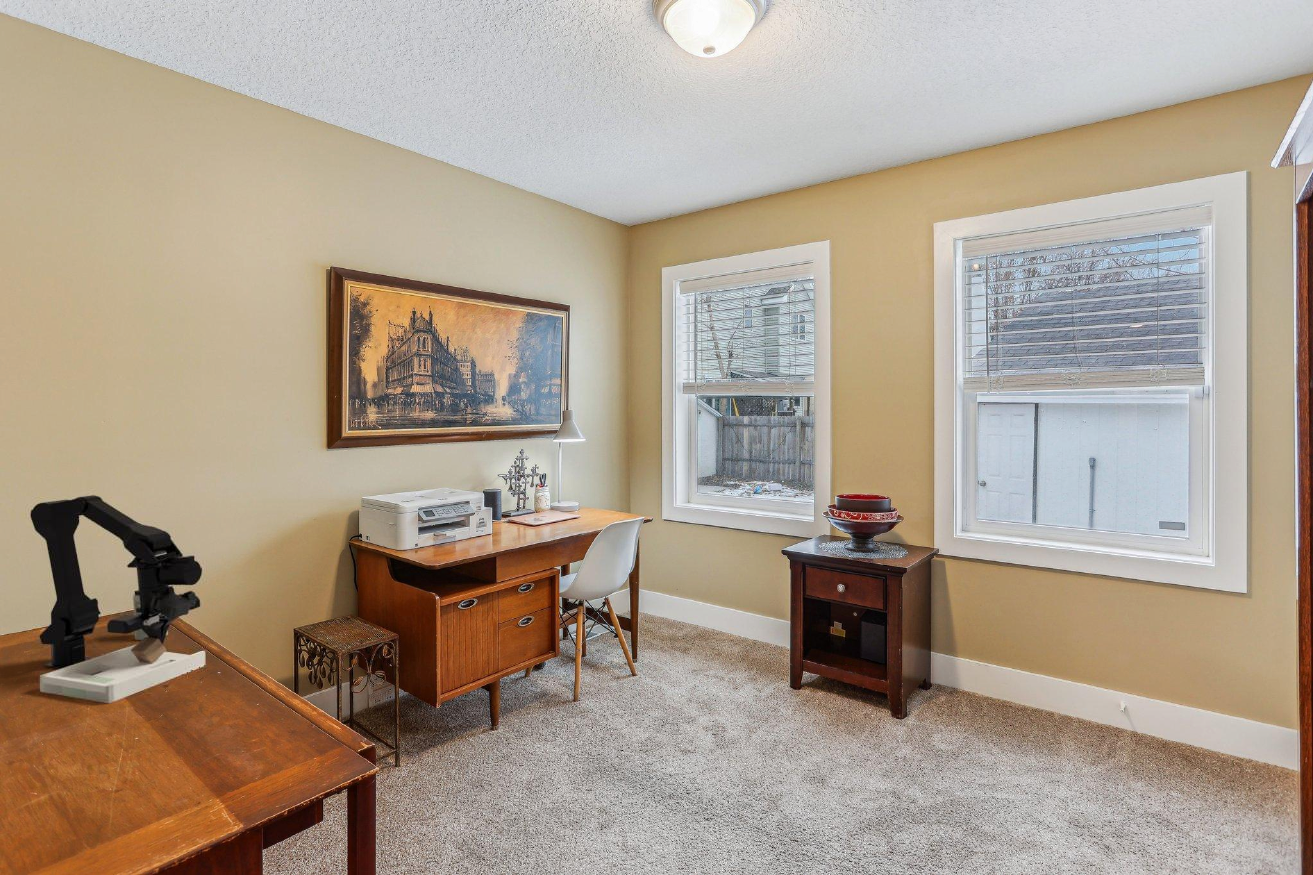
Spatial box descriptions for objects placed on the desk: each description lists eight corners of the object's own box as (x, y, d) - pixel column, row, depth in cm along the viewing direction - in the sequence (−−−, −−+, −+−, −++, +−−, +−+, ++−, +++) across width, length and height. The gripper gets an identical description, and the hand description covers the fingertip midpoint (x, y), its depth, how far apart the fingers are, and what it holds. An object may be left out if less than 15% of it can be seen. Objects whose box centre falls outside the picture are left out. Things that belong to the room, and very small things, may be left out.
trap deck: (40, 691, 144) (39, 675, 144) (142, 656, 165) (142, 642, 165) (108, 703, 139) (108, 686, 139) (205, 665, 160) (205, 651, 160)
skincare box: (168, 635, 181) (168, 591, 180) (155, 640, 176) (154, 595, 176) (147, 634, 181) (146, 590, 181) (133, 639, 177) (132, 594, 177)
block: (139, 661, 157) (130, 650, 155) (153, 648, 160) (145, 636, 158) (152, 663, 156) (143, 651, 154) (166, 650, 159) (158, 638, 157)
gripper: (141, 599, 147) (147, 667, 148) (215, 574, 165) (220, 635, 166) (102, 596, 149) (109, 663, 151) (179, 572, 167) (185, 632, 169)
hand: (159, 647), depth 159 cm, fingers closed, pressing on block
